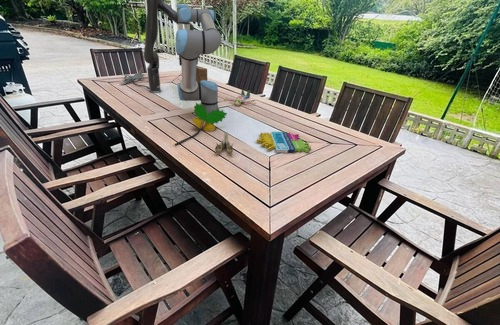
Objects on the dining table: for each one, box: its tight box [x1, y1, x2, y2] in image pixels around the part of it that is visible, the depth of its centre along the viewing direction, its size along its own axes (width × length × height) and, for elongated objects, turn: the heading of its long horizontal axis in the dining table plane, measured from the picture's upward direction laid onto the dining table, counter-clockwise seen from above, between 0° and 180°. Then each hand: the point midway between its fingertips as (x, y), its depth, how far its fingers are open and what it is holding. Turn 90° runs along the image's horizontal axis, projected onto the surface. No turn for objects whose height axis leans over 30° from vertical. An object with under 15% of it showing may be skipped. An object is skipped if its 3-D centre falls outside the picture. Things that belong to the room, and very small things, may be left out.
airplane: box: [119, 66, 148, 86], centre depth 257 cm, size 38×31×10 cm
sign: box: [256, 131, 312, 154], centre depth 152 cm, size 26×2×30 cm
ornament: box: [191, 101, 228, 132], centre depth 162 cm, size 21×8×15 cm, turn 105°
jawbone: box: [214, 131, 234, 156], centre depth 136 cm, size 9×15×10 cm
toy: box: [223, 89, 257, 106], centre depth 219 cm, size 28×7×30 cm
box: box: [196, 65, 208, 83], centre depth 225 cm, size 24×6×13 cm, turn 45°
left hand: (191, 70), depth 229 cm, fingers closed on box, 6 cm apart
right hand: (186, 64), depth 186 cm, fingers open, 13 cm apart
